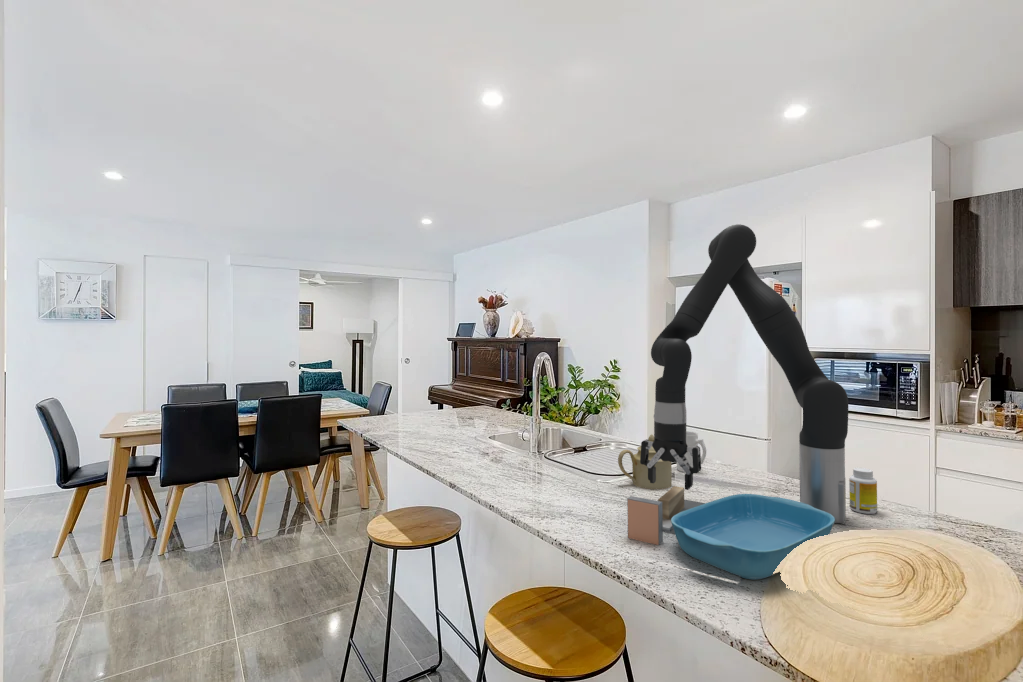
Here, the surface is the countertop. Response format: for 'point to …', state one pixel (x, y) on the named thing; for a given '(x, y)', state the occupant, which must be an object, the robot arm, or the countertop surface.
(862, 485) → the supplement bottle
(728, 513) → the casserole dish
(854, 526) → the countertop surface
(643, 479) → the beige teapot
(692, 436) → the mug
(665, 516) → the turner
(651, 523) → the tile
